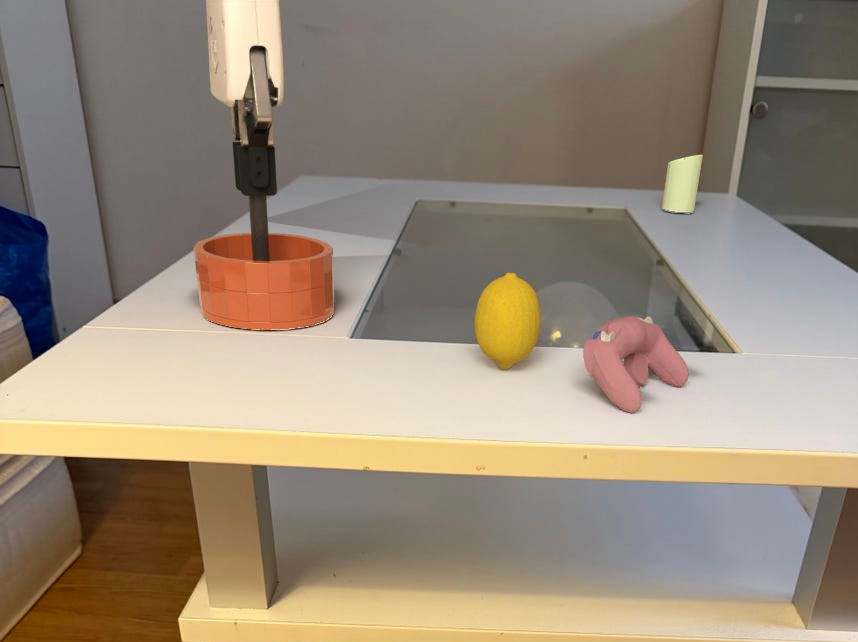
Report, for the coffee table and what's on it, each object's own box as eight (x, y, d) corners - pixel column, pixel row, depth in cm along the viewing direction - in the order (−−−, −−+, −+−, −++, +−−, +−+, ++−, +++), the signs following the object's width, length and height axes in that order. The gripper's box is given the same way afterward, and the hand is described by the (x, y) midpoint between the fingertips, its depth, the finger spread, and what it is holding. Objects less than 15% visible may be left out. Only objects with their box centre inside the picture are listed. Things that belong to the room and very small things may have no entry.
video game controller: (648, 393, 86) (626, 313, 84) (695, 381, 82) (673, 298, 81) (591, 424, 79) (565, 337, 77) (639, 412, 76) (614, 321, 74)
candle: (658, 211, 152) (666, 153, 147) (665, 207, 156) (674, 149, 151) (689, 215, 150) (699, 156, 146) (696, 211, 154) (706, 153, 150)
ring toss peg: (242, 300, 92) (229, 127, 84) (232, 287, 96) (219, 120, 88) (294, 298, 94) (287, 128, 86) (283, 285, 98) (275, 121, 90)
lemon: (462, 361, 85) (466, 266, 81) (520, 356, 87) (527, 263, 83) (488, 382, 81) (493, 282, 77) (547, 376, 83) (556, 279, 79)
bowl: (212, 334, 88) (205, 265, 85) (192, 298, 98) (185, 234, 94) (349, 327, 92) (347, 260, 89) (316, 292, 102) (314, 231, 99)
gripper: (180, -55, 85) (201, 178, 95) (208, -58, 73) (229, 209, 83) (267, -48, 87) (279, 178, 97) (309, -50, 75) (317, 208, 85)
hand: (256, 191), depth 90 cm, fingers closed on ring toss peg
